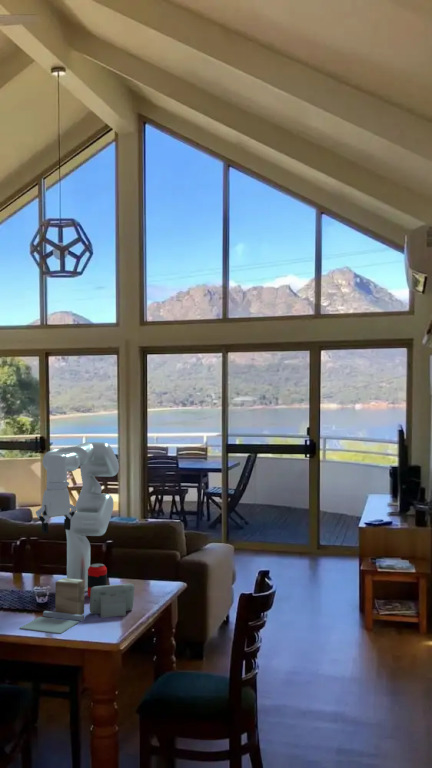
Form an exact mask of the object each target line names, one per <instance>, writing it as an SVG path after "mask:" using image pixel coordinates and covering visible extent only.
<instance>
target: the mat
mask: <svg viewBox="0 0 432 768" xmlns="http://www.w3.org/2000/svg"><path fill="white" fill-rule="evenodd" d="M79 623H80V621H79V620H71V619H62V618H54V617H46V616H39V617H37V618H35V619H33V620H31V621H29V622H27V623H26V624H24V625H22V626H21V627H19V630H25V631H34V632H41V633H50V634H59V635H62V634H63V633H65V632H66V631H68V630H70V629H72V628H73V627H75V626H77V625H78V624H79Z"/></svg>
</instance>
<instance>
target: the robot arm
mask: <svg viewBox="0 0 432 768" xmlns="http://www.w3.org/2000/svg"><path fill="white" fill-rule="evenodd" d="M42 465H43V467H44V469H45V470H46V489H45V490H43V491H44V492H43V497H42V503H41V507H40V508H39V509H38V510H36V511H35V515H36V517H37V519H38V520H39V522H41V532H42V534H46V535H47V534H48V533H49V522H48V521H49V520H50V518H55V517H65V518H64V520H63V525H64V526H63V528H64V529H63V530H65V534H66V535H65V536H66V578H67V579H78V580H84V593H85V592H88V568H89V567H90V565H91V543H90V541H89V540H88V538H87V537H88V536H90V537H101V536H104V535H105V534H106V532H107V529H108V527H109V523H110V520H111V517H112V514H113V511H114V503H115V502H114V498H113V496H112V495H111V494H109V493H102V489H103V488H102V486H101V484H100V482H99V481H98V480H97V478H96V477H109V478H110V477H114V476H116V475H117V474H118V473H119V469H120V468H119V467H120V465H119V461H118V459H117V455H116V454H115V452H114V450H113V447H112V446H111V445H110V444H109V443H107V442H93V441H91V442H89V441H88V442H83V443H80V444H78V445H75V446H69V447H62V448H57V449H51V450H48V451H47V452H46V453H45V454H44V456H43V458H42ZM79 467H80V476H81V483H82V486H81V490H80V493H79V495H78V497H77V500H76V502H75V505H74V504H72V503H71V499H70V492H69V489H68V486H70V482H69V481H68V472H73V471H74V472H75V471H76V470H77V469H79Z"/></svg>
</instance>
